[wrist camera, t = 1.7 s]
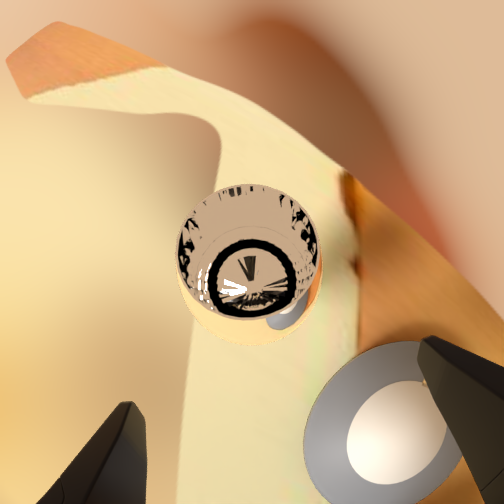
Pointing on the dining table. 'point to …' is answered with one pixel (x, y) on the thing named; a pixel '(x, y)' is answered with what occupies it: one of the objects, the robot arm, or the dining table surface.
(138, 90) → the dining table surface
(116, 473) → the robot arm
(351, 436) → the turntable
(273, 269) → the wineglass
